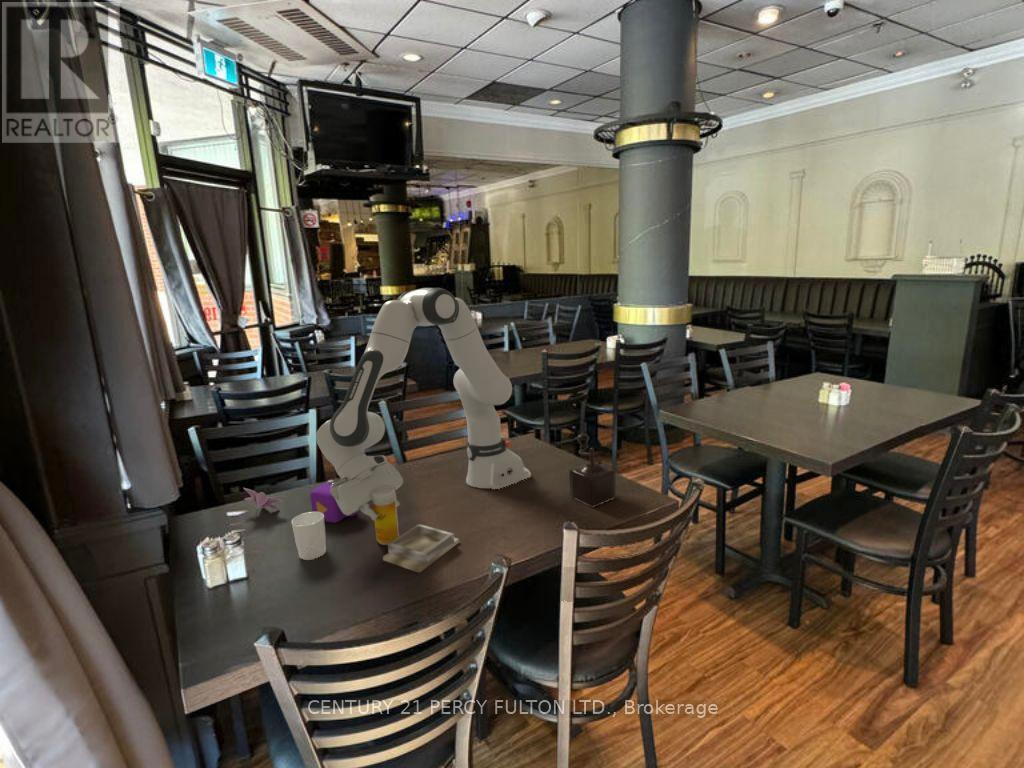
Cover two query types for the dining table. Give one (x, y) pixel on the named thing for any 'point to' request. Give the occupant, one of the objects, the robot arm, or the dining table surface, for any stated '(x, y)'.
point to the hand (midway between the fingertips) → (387, 512)
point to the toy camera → (327, 503)
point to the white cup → (309, 535)
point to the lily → (262, 500)
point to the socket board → (419, 547)
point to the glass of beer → (385, 514)
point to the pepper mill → (591, 478)
